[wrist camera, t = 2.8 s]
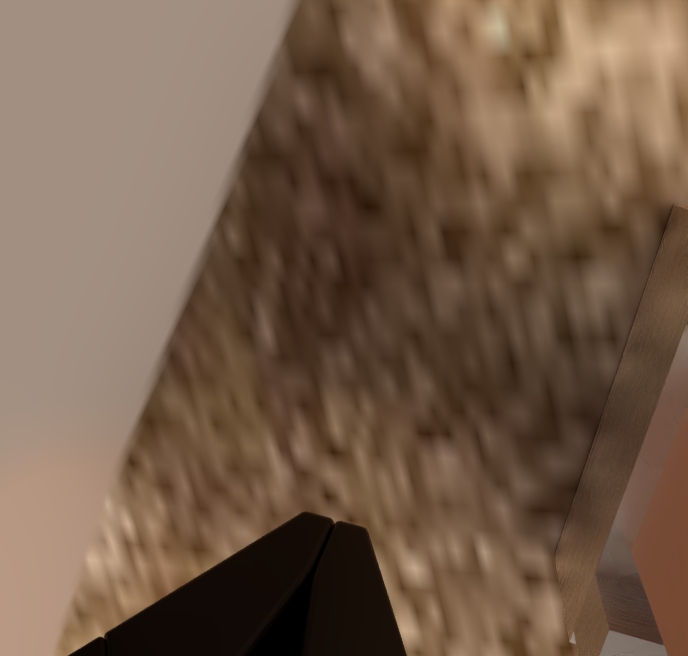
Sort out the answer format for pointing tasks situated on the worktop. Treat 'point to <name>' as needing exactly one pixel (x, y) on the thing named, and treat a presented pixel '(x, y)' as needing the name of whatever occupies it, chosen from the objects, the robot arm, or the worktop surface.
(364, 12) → the worktop surface
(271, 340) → the worktop surface
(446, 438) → the worktop surface
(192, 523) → the worktop surface
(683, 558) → the reddish-brown angular block
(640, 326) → the channel
